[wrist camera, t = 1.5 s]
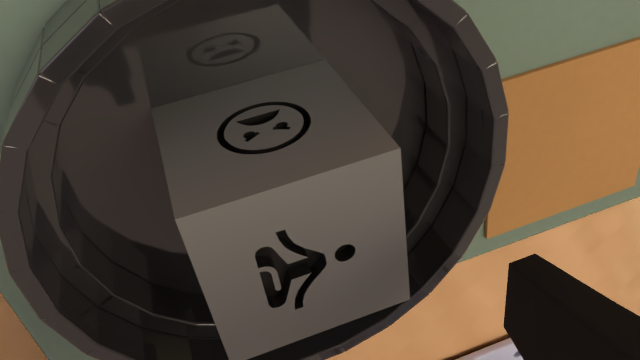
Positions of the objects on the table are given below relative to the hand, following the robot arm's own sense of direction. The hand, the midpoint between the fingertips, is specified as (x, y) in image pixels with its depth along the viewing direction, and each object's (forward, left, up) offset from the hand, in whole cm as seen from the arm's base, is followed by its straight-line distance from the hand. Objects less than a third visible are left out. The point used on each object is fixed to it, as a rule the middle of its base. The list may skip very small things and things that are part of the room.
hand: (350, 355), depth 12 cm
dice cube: (0, 0, -8) cm, 8 cm away
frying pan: (0, 0, -8) cm, 8 cm away
